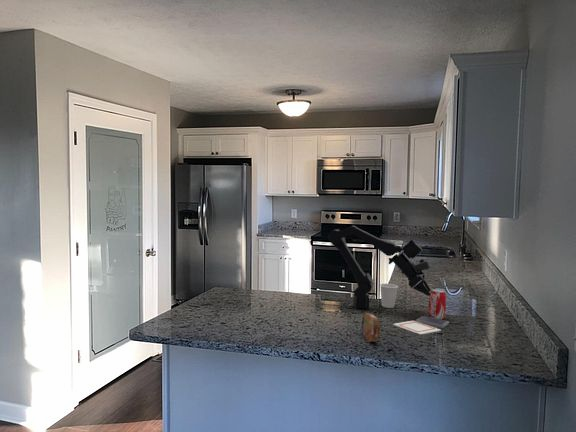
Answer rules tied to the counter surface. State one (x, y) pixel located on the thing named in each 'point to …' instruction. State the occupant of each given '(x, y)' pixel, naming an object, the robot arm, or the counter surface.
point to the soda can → (437, 304)
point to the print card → (417, 327)
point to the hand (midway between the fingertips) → (429, 293)
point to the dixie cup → (388, 295)
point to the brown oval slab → (370, 327)
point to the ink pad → (432, 322)
